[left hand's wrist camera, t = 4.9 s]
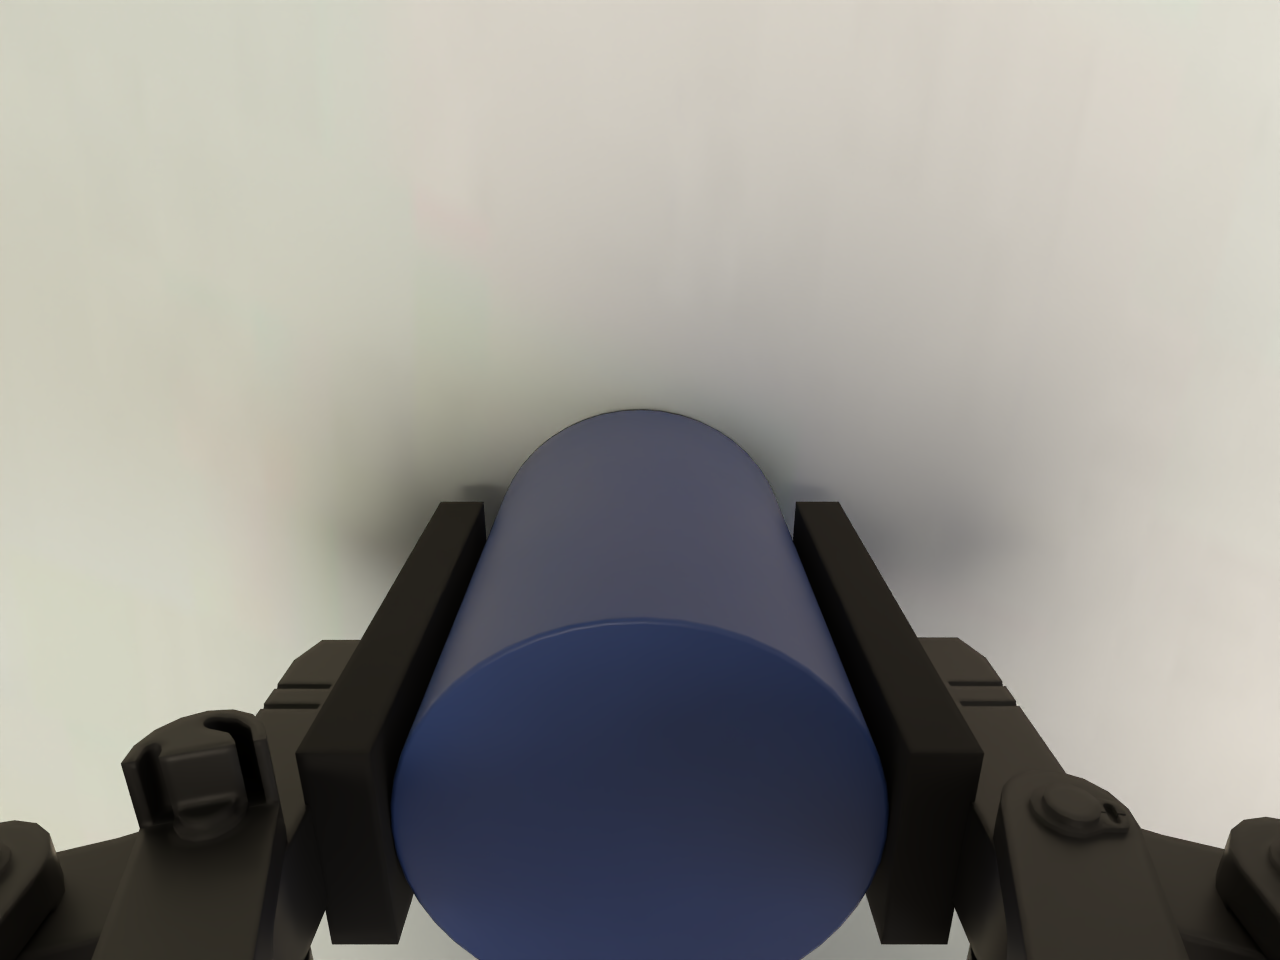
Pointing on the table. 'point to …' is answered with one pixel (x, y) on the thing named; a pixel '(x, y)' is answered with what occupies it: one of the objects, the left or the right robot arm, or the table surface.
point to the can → (639, 719)
